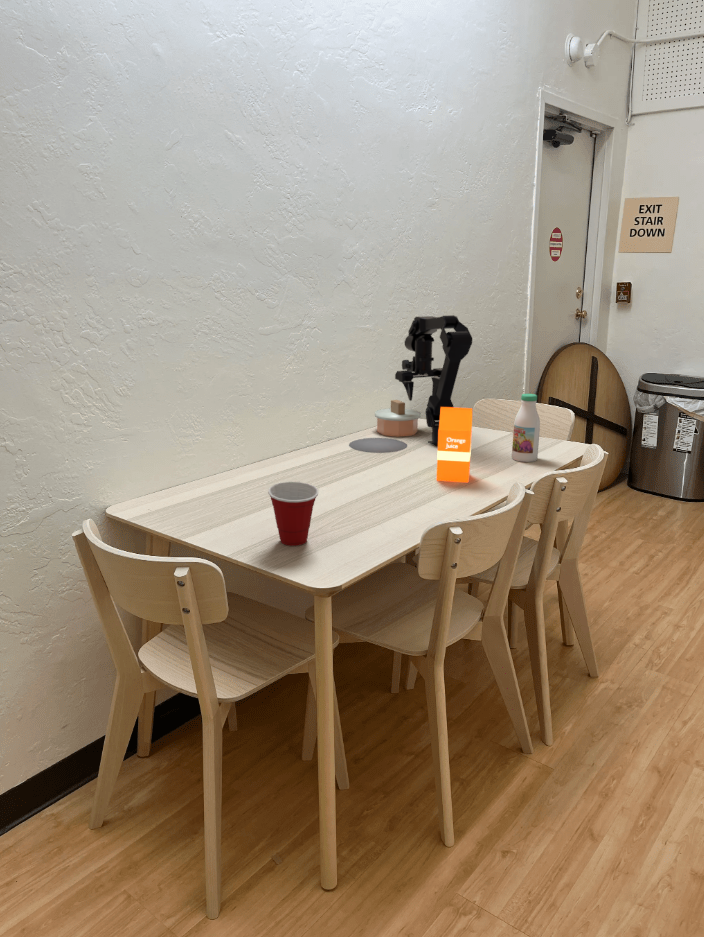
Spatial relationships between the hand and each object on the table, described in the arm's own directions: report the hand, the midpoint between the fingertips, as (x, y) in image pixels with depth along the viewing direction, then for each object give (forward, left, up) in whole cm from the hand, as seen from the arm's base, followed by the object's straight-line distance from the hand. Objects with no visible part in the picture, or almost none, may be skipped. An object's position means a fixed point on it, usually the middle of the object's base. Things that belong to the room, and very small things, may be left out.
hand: (422, 399), depth 246 cm
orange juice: (-49, +16, -12) cm, 53 cm away
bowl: (+4, +7, -12) cm, 15 cm away
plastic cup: (-76, +72, -12) cm, 106 cm away
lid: (+4, +7, -6) cm, 10 cm away
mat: (-10, +21, -12) cm, 27 cm away
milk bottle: (-41, -14, -12) cm, 45 cm away
